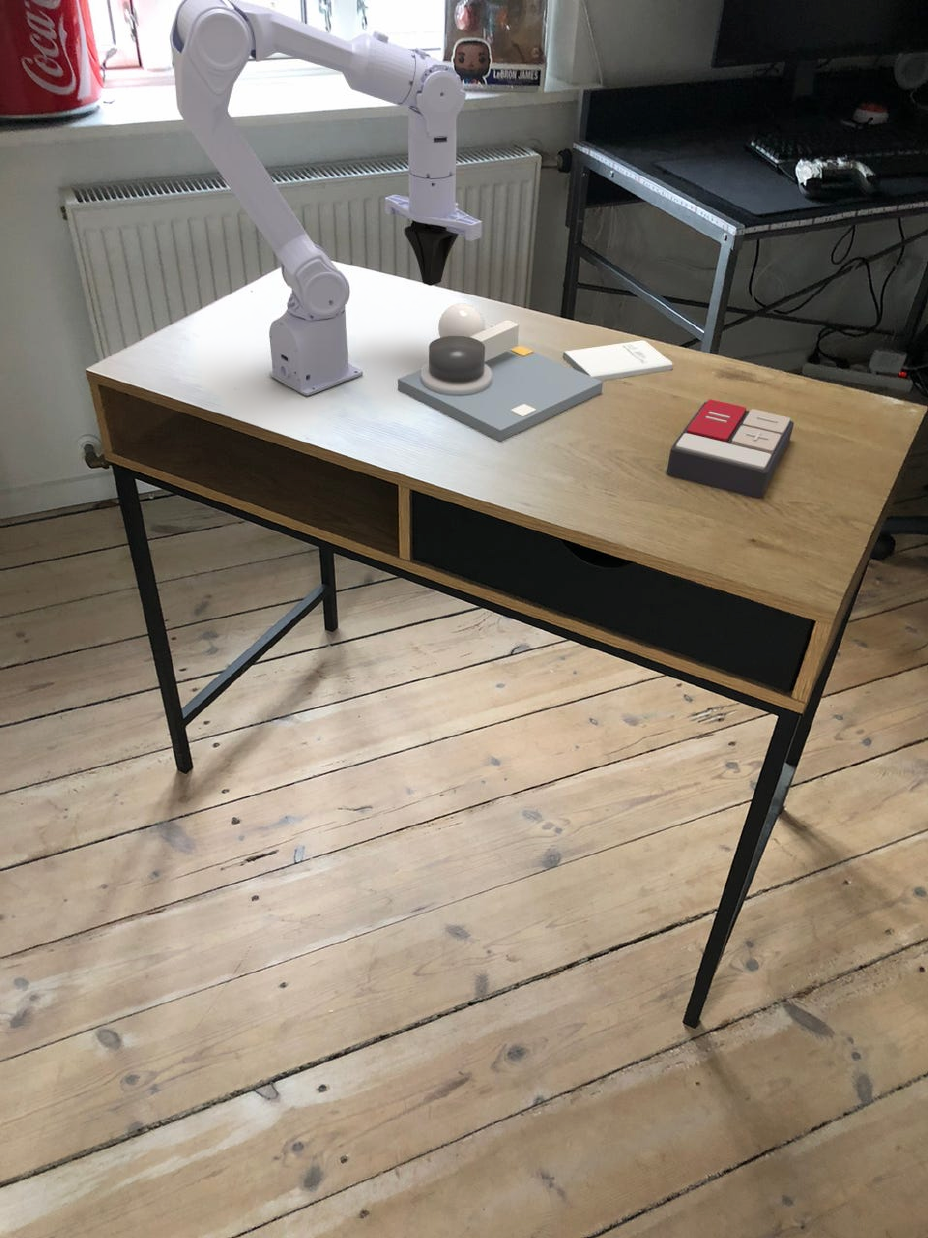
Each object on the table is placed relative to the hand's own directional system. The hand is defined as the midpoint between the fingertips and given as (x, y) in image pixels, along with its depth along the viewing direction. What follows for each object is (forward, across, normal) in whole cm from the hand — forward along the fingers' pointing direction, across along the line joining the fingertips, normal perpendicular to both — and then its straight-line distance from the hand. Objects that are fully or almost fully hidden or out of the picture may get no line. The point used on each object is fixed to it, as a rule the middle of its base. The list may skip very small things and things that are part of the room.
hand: (432, 282), depth 132 cm
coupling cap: (+8, -9, +1) cm, 12 cm away
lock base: (+10, -13, +1) cm, 17 cm away
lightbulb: (+9, +5, -10) cm, 14 cm away
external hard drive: (+11, -19, -16) cm, 28 cm away
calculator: (+11, -43, -5) cm, 45 cm away
